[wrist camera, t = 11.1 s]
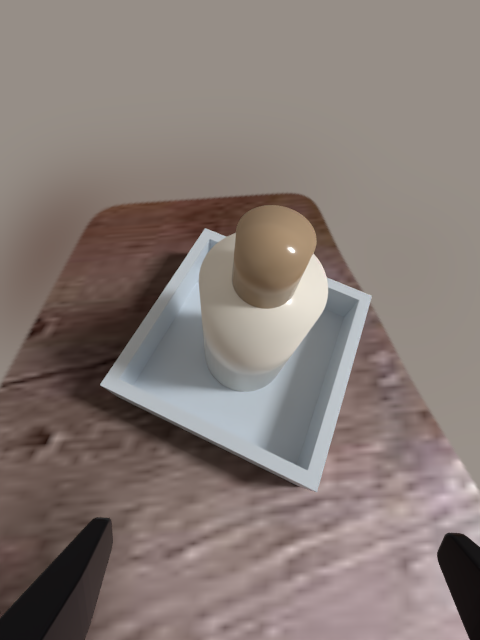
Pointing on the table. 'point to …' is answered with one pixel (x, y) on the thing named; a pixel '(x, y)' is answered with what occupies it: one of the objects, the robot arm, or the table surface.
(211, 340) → the dressing bottle
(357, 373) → the table surface
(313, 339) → the bin
